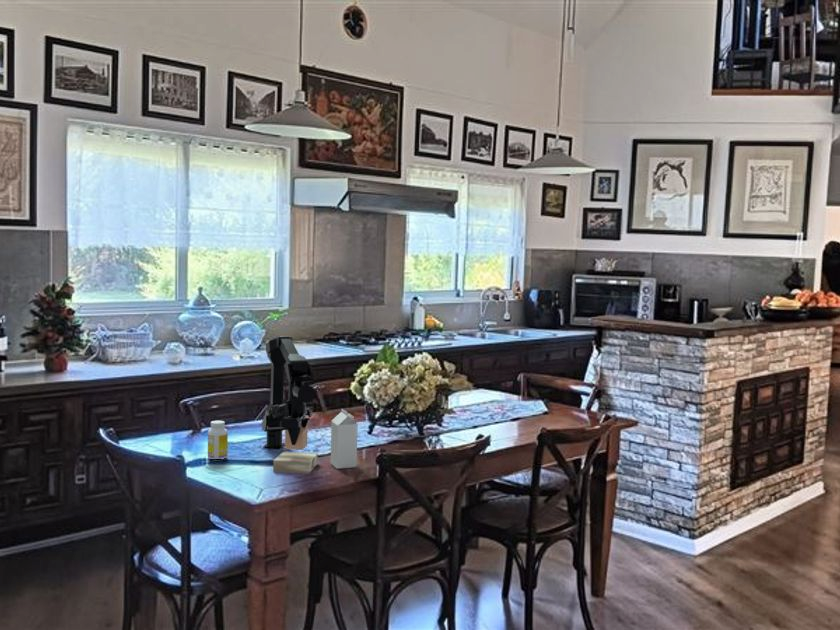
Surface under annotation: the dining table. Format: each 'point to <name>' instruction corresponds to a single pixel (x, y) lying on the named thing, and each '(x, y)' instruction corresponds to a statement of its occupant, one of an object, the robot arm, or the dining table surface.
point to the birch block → (295, 462)
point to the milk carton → (344, 441)
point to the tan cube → (300, 442)
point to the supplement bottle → (217, 440)
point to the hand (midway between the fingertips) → (296, 442)
